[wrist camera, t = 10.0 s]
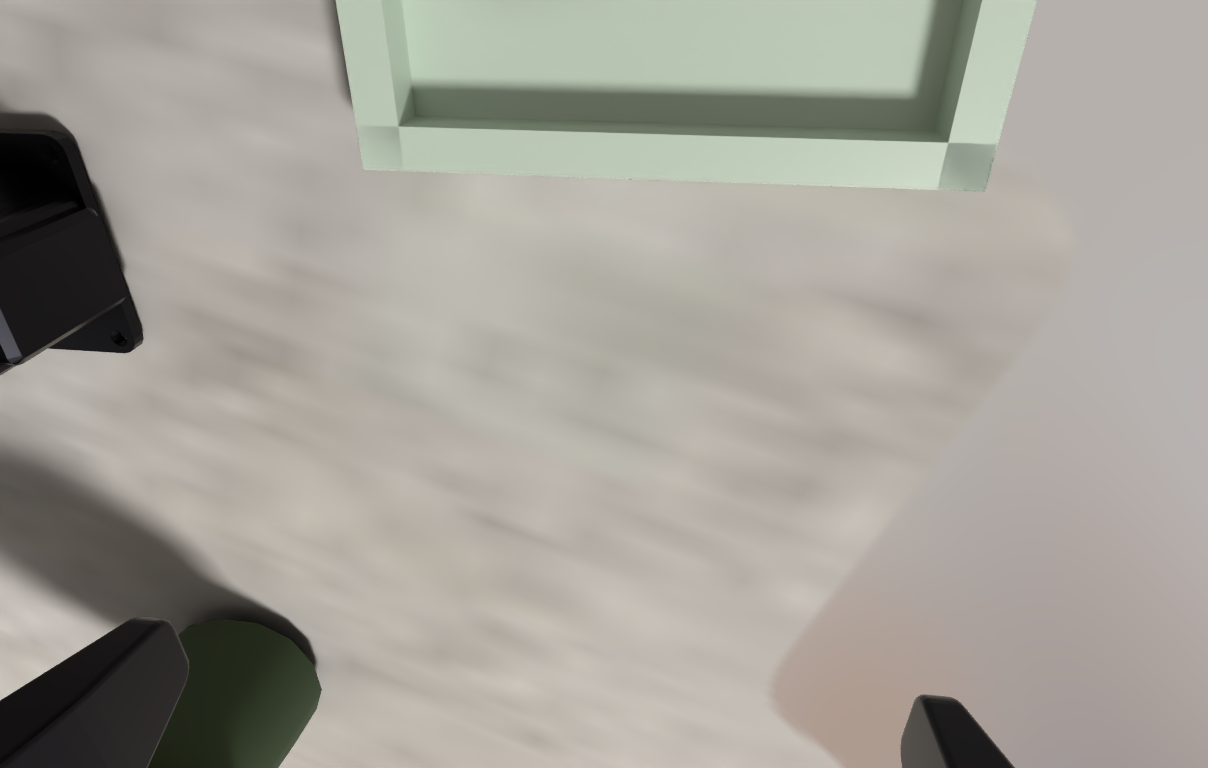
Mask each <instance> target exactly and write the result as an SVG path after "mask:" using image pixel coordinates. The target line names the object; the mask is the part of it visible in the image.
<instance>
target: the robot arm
mask: <svg viewBox="0 0 1208 768" xmlns="http://www.w3.org/2000/svg"><path fill="white" fill-rule="evenodd" d="M51 146H52V147H53V148H55V150H56V151H57V153H58V156H59V158H58V157H57V156H55V155H54V153H53V151H52V150H51ZM120 332H121V333H122V334H123V335H124V336H125V337H126V339H125V338H124V337H123V336H122V335H121V333H120ZM142 342H143V333H142V330H141V327H140V325H139V322H138V319H137V316H136V313H135V310H134V308H133V305H132V302H131V299H130V296H129V294H128V291H127V288H126V285H125V282H124V280H123V277H122V274H121V271H120V268H119V266H118V263H117V260H116V257H115V254H114V252H113V249H112V246H111V243H110V240H109V238H108V235H107V232H106V229H105V226H104V223H103V221H102V218H101V215H100V212H99V209H98V207H97V204H96V201H95V198H94V195H93V193H92V190H91V187H90V184H89V181H88V179H87V176H86V173H85V170H84V167H83V165H82V162H81V159H80V156H79V153H78V151H77V149H76V147H75V145H74V143H73V142H72V141H71V140H70V139H69V138H68V137H67V136H65V135H64V134H62V133H60V132H56V131H43V130H11V129H0V375H2V374H3V373H5V372H7V371H8V370H10V369H12V368H13V367H15V366H16V365H20V364H23V363H25V362H26V361H28V360H30V359H31V358H33V357H34V356H36V355H38V354H39V353H41V352H42V351H44V350H46V349H47V348H50V349H66V350H83V351H99V352H115V353H128V352H131V351H132V350H134V349H135V348H136V347H138V346H139V345H141V344H142ZM188 674H189V661H188V658H187V656H186V653H185V651H184V649H183V646H182V644H181V642H180V639H179V637H178V635H177V632H176V630H175V628H174V626H173V624H172V623H171V622H170V621H168V620H166V619H159V618H149V617H137V618H133V619H131V620H129V621H127V622H125V623H123V624H122V625H120V626H119V627H117V628H115V629H114V630H112V631H111V632H109V633H107V634H106V635H104V636H103V637H101V638H99V639H98V640H96V641H95V642H93V643H91V644H90V645H88V646H87V647H85V648H83V649H82V650H80V651H79V652H77V653H75V654H74V655H72V656H71V657H69V658H67V659H66V660H64V661H63V662H61V663H60V664H58V665H56V666H55V667H53V668H52V669H50V670H48V671H47V672H45V673H44V674H42V675H40V676H39V677H37V678H36V679H34V680H32V681H31V682H29V683H28V684H26V685H24V686H23V687H21V688H20V689H18V690H16V691H15V692H13V693H12V694H10V695H8V696H7V697H5V698H4V699H2V700H0V768H148V766H149V764H150V761H151V759H152V757H153V755H154V753H155V750H156V748H157V746H158V744H159V741H160V739H161V737H162V735H163V733H164V730H165V728H166V726H167V724H168V722H169V719H170V717H171V715H172V713H173V711H174V708H175V706H176V704H177V702H178V700H179V697H180V695H181V693H182V691H183V689H184V686H185V684H186V681H187V678H188ZM901 762H902V768H1015V767H1014V766H1013V765H1012V764H1011V763H1010V761H1009V760H1008V759H1007V758H1006V757H1005V755H1004V754H1003V753H1002V752H1001V751H1000V749H999V748H998V747H997V746H996V744H995V743H994V742H993V741H992V740H991V739H990V737H989V736H988V735H987V734H986V733H985V731H984V730H983V729H982V728H981V726H980V725H979V724H978V723H977V722H976V720H975V719H974V718H973V717H972V716H971V714H970V713H969V712H968V711H967V709H966V708H965V707H964V706H963V705H962V704H961V703H960V702H959V701H958V700H956V699H954V698H951V697H945V696H935V695H920V696H918V697H917V698H916V699H915V701H914V704H913V707H912V709H911V712H910V715H909V718H908V721H907V724H906V727H905V729H904V732H903V735H902V739H901Z"/></svg>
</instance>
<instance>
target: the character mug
mask: <svg viewBox="0 0 1208 768" xmlns="http://www.w3.org/2000/svg"><path fill="white" fill-rule="evenodd" d="M178 637H179V639H180V642H181V644H182V646H183V649H184V651H185V653H186V656H187V658H188V661H189V674H188V678H187V681H186V684H185V686H184V689H183V691H182V693H181V695H180V697H179V700H178V702H177V704H176V706H175V708H174V711H173V713H172V715H171V717H170V719H169V722H168V724H167V726H166V728H165V730H164V733H163V735H162V737H161V739H160V741H159V744H158V746H157V748H156V750H155V753H154V755H153V757H152V759H151V761H150V764H149V766H148V768H278V767H279V766H280V764H281V763H282V761H283V760H284V759H285V757H286V756H287V754H288V753H289V751H290V750H291V748H292V747H293V746H294V744H295V742H296V741H297V739H298V738H299V736H300V734H301V733H302V731H303V730H304V728H305V726H306V725H307V723H308V722H309V720H310V719H311V717H312V715H313V714H314V712H315V711H316V709H317V705H318V702H319V698H320V694H321V690H322V689H321V686H320V683H319V680H318V677H317V674H316V671H315V669H314V666H313V663H312V662H311V661H310V660H309V659H308V658H307V657H306V656H305V655H304V654H303V652H302V651H301V650H300V649H299V648H298V647H297V646H296V645H295V644H294V643H293V642H292V640H291V639H289V638H287V637H285V636H283V635H281V634H279V633H277V632H275V631H273V630H271V629H269V628H267V627H264V626H262V625H260V624H258V623H253V622H244V621H236V620H227V619H217V620H213V621H209V622H204V623H200V624H196V625H191V626H189V627H187V628H186V629H185V630H184V631H183V632H182V633H181V634H179V635H178Z"/></svg>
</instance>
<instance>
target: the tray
mask: <svg viewBox="0 0 1208 768" xmlns="http://www.w3.org/2000/svg"><path fill="white" fill-rule="evenodd" d="M1036 2H1037V0H336V6H337V12H338V18H339V24H340V31H341V37H342V43H343V49H344V55H345V61H346V67H347V74H348V80H349V86H350V92H351V98H352V104H353V110H354V117H355V123H356V129H357V135H358V141H359V147H360V153H361V160H362V166H363V170H387V171H416V172H444V173H473V174H501V175H530V176H558V177H587V178H615V179H643V180H672V181H700V182H729V183H757V184H786V185H814V186H843V187H871V188H900V189H928V190H957V191H985V189H986V185H987V182H988V178H989V174H990V171H991V167H992V163H993V160H994V156H995V152H996V149H997V145H998V141H999V138H1000V134H1001V130H1002V126H1003V123H1004V119H1005V116H1006V112H1007V108H1008V105H1009V101H1010V97H1011V94H1012V90H1013V86H1014V83H1015V78H1016V75H1017V71H1018V68H1019V64H1020V60H1021V57H1022V53H1023V49H1024V46H1025V42H1026V39H1027V35H1028V31H1029V28H1030V24H1031V20H1032V17H1033V13H1034V9H1035V5H1036Z"/></svg>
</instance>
